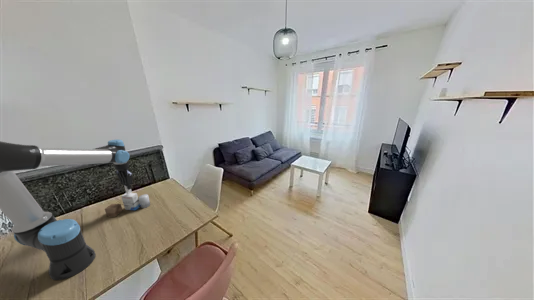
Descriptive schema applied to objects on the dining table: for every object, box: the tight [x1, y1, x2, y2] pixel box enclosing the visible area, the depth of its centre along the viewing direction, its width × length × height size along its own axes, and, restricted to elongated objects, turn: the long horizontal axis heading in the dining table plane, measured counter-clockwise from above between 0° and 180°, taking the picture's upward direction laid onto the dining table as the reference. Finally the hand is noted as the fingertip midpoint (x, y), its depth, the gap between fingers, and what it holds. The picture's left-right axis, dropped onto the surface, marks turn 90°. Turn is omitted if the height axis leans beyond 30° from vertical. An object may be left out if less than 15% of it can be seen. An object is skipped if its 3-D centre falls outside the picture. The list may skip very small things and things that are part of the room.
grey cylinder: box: [138, 193, 151, 209], centre depth 127 cm, size 6×6×8 cm
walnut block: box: [104, 203, 123, 218], centre depth 118 cm, size 6×6×6 cm
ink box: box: [120, 192, 141, 211], centre depth 123 cm, size 9×5×12 cm, turn 84°
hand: (129, 192), depth 121 cm, fingers closed
